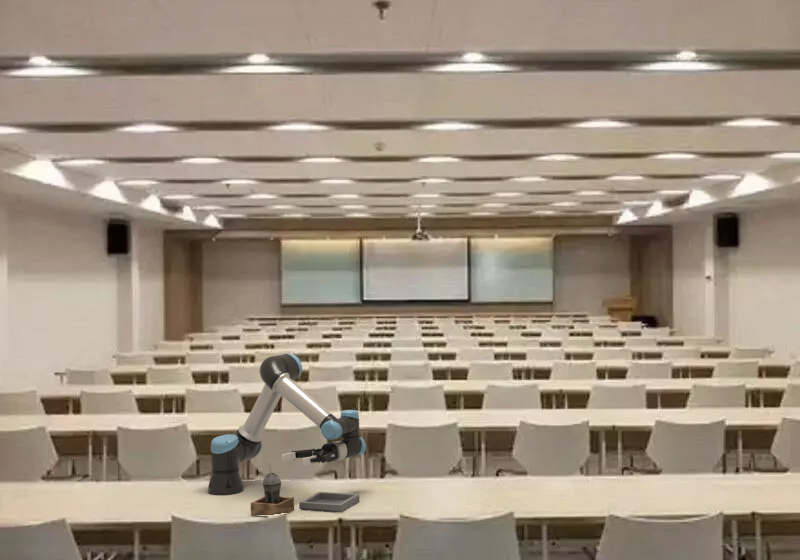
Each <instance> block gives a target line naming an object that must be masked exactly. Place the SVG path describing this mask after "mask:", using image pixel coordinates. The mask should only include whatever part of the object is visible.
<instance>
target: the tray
mask: <svg viewBox="0 0 800 560" xmlns="http://www.w3.org/2000/svg"><path fill="white" fill-rule="evenodd" d="M358 503H360V494H357V493H355V494H353V493H340V492H325V491H323V492H322V491H318V492H316V493H314V494H312V495H311V496H309V497H307V498H305V499H303V500H301V501H299V502H298V504H299V505H298V508H299V509H301V510H300V511H308V510H311V512H321V511H323V512H324V513H325V512H326V513H335V512H342V511H343V512H345V511H347V510H348V509H350V508H352V507H353V506H355V505H357V504H358ZM346 509H347V510H346ZM343 512H342V513H343Z"/></svg>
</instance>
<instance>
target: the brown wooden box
mask: <svg viewBox="0 0 800 560" xmlns="http://www.w3.org/2000/svg"><path fill="white" fill-rule="evenodd" d="M293 510H294V511H295V497H291V496H280V500H279V504H270V503H266V502H265V495H263V496H262V497H259V499H257V500H254V501H252V502H250V516H251V515H274V514H281V513H288V514H290V513H291V511H292V512H294V511H293ZM289 512H290V513H289Z"/></svg>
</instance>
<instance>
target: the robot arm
mask: <svg viewBox="0 0 800 560" xmlns="http://www.w3.org/2000/svg"><path fill="white" fill-rule="evenodd" d="M302 372H303V366H302V362H301V360H300V358H299V357H297V355H295V354H293V353H283V354H279V355H273V356H269V357H266V358H265V359H263V361H262V362H261V364H260V367H259V375H260V379H261V380H262V382H263V383H264V385H263V387H262V390H261V391H260V394H259V395H258V397H257V399H256V401H255V403H254V405H253V407H252V409H251V411H250V412H249V414H248V417H247V418H246V421H245V422H244V425H240V426H238V429H237V430H236V432H235V434H231V433H230V434H229V433H228V434H224V435H219V436H216V437H214V438H213V439H212V440H211V441H210V443H211V444H210V454H211V455H210V457H211V460H210V461H211V463H210V464H211V476H210V479H209V482H208V486H207V492H209V493H208V494H210V493H211V495H215V496H216V495H217V496H218V495H219V496H222V495H223V496H225V495H234V494H238V493H239V494H240V493H241V492H243V491H244V490H245V487H244V486H245V485H244V482H243V479H242V476H241V474H240V463H243V462H247V461H250V460H252V459H254V458H256V457H257V456H258V455H259V454H260V453H261V451H262V448H263V443H262V442H263V438H264V437H263V435H262V433H263V432H264V430H265V428H266V426H267V424H268V422H269V420H270V418H271V416H272V415H273V412H274V411H275V409H276V407H277V405H278V402H279V401H280V399H281V397H283V398H284V399H285V400H287V401H288V402H289V403H290V404H291V405H293V407H295V408H296V409H297V410H298V411H299V412H300V413H302V414H303V415H304V416H305V417H307V418H308V419H309V420H310V421H311V422H312V423H313V424H314V425H316V426H317V427H318V428H320V429H321V431H320V432H321V435H322V436H323V438H324V439H326V440H328V441H329V440H331V441H332V440H337V439H340V438H341V440H337V441H332V442H327V443H325V444H323V445H322V446H321V448H311V449H301V450H292V451H291V452H288V453H283V454H281V455H280V456H281V462H289V461H292V460H293V461H295V460H296V459H302V466H308V465H311V464H317V463H318V464H319V463H322V464H323V463H330V462H335V461H339V462H341V460H344V459H347V458H353V457H354V458H355V457H359V456H362V455H363V454H365V452H366V449H367V444H366V440H365V439H364V438H363V437H361V435H360V416H359V411H358V410H357V409H356V410H355V409H344V410H342V411H341V412H340V417H336V416H335V415H334V414H332V413H331V412H330V411H329V410H328V409H327V408H326V407H324V406H323V405H322V404H321V403H320V402H318V401H317V400H316V399H315V398H313V397H312V396H311V394H309V393H308V392H307V391H306V390H305V389H303V388H302V387H301V386H300V385H299V384H298V383H296V382H295V380H298V379H299V378H300V377H301V375H302Z"/></svg>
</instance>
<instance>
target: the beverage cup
mask: <svg viewBox="0 0 800 560" xmlns="http://www.w3.org/2000/svg"><path fill="white" fill-rule="evenodd" d="M268 468H269V473H267V474H266V475H265V476H264V477H263V480H262V487H263V491H264V493H263V494H264V496H265V502H266V503H270V504H279V500H280V497H281V496H280V495H281V489H282V488H281V486H282V481H281V477H280V476H279V475H278V474H277V473H275V472H272V470H271V469H272V467H271V462H268Z"/></svg>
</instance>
